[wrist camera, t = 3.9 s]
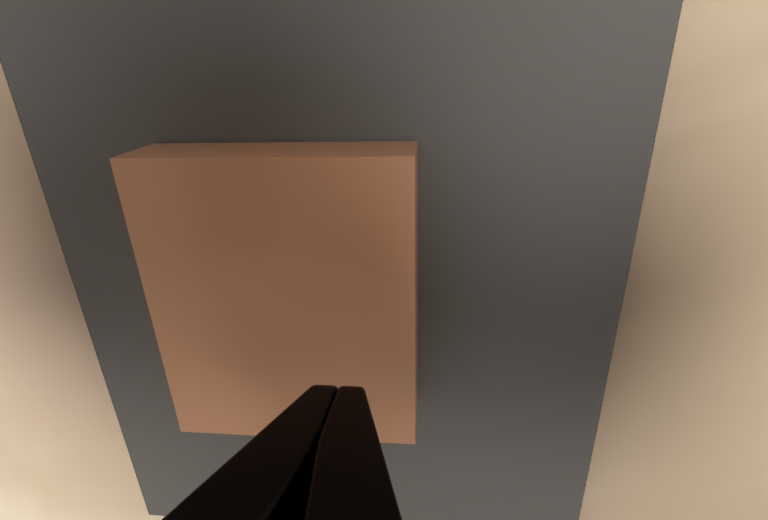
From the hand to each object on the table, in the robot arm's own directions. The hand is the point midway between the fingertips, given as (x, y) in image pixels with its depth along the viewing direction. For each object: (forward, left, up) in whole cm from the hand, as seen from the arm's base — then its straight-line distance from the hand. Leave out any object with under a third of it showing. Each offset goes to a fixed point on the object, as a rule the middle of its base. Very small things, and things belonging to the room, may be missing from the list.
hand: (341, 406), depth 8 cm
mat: (-1, +1, -5) cm, 5 cm away
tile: (0, -1, -4) cm, 4 cm away
